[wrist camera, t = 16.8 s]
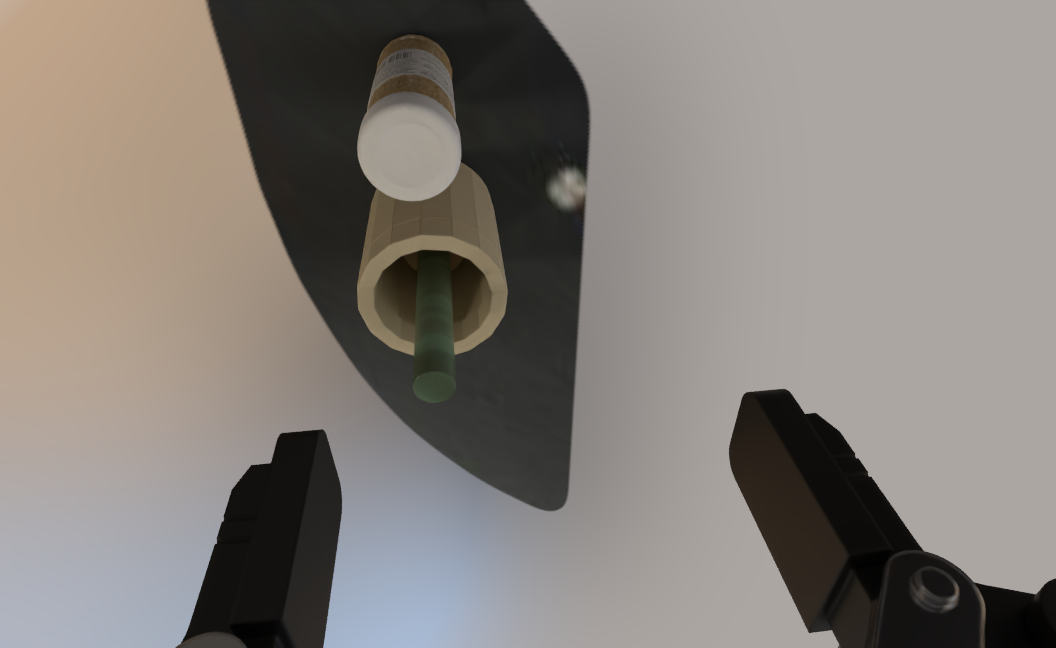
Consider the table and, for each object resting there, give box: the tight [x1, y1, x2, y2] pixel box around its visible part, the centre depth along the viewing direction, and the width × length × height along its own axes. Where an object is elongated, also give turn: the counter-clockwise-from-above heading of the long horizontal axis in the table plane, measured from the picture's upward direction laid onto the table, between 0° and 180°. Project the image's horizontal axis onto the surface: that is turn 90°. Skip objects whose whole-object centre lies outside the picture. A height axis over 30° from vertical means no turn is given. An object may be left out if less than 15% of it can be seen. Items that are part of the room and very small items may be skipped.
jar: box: [357, 162, 508, 356], centre depth 40 cm, size 8×8×11 cm
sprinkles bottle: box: [357, 34, 461, 201], centre depth 33 cm, size 5×5×13 cm
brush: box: [404, 250, 464, 403], centre depth 37 cm, size 4×4×18 cm
